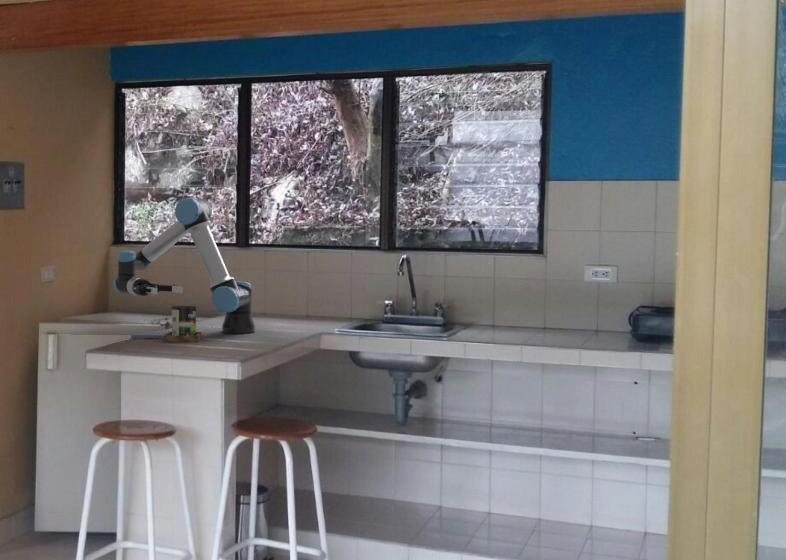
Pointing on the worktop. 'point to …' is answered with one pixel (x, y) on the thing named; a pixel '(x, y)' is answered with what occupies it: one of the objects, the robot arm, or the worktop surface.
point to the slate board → (147, 335)
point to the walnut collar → (182, 337)
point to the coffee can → (184, 320)
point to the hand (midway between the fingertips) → (169, 290)
